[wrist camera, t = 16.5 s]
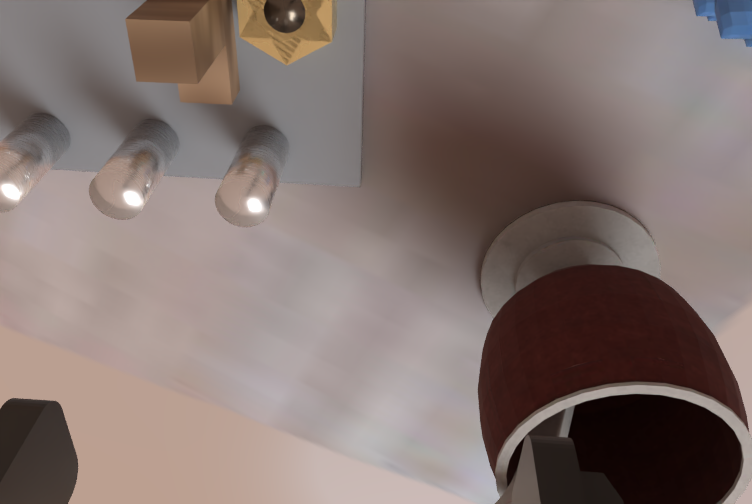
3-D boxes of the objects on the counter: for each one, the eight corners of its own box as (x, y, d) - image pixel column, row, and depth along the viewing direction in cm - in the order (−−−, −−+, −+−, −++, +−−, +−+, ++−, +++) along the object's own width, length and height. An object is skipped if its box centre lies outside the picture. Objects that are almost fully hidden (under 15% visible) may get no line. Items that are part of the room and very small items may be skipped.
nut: (243, -59, 38) (232, -49, 36) (337, -55, 38) (331, -44, 36) (250, 47, 41) (241, 63, 39) (336, 52, 41) (331, 67, 39)
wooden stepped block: (166, -95, 37) (110, -64, 31) (223, -93, 37) (179, -61, 31) (190, 87, 43) (148, 147, 36) (240, 89, 43) (206, 150, 36)
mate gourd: (664, 169, 45) (799, 403, 29) (675, 331, 53) (787, 591, 36) (426, 218, 48) (426, 454, 32) (468, 365, 56) (485, 618, 39)
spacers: (-85, -265, 34) (-189, -269, 28) (273, -250, 33) (241, -252, 28) (29, 154, 46) (-28, 210, 41) (290, 169, 46) (270, 228, 40)
